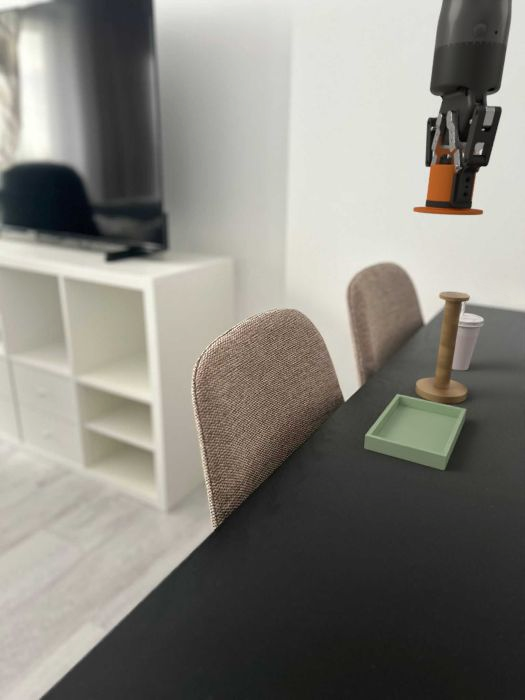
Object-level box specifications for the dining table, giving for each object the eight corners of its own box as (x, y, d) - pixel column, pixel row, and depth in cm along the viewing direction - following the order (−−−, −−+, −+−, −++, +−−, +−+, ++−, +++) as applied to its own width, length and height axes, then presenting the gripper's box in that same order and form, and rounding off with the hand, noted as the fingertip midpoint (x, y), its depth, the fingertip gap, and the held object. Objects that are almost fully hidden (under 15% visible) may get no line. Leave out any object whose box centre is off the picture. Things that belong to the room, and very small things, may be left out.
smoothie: (443, 358, 100) (454, 288, 95) (478, 365, 97) (490, 292, 92) (436, 368, 95) (446, 294, 90) (472, 375, 92) (485, 299, 87)
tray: (395, 405, 80) (397, 393, 79) (464, 421, 75) (466, 408, 74) (363, 448, 67) (365, 435, 66) (444, 470, 62) (446, 456, 62)
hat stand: (452, 383, 88) (467, 288, 83) (475, 403, 81) (492, 300, 75) (408, 384, 88) (419, 289, 82) (426, 404, 80) (440, 301, 75)
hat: (463, 210, 66) (470, 166, 65) (495, 215, 59) (504, 165, 57) (403, 209, 66) (408, 164, 64) (428, 214, 58) (434, 163, 56)
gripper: (541, 31, 50) (510, 210, 56) (471, 60, 63) (452, 202, 69) (468, 27, 49) (443, 209, 55) (413, 58, 63) (398, 201, 68)
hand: (448, 205), depth 62 cm, fingers closed on hat, 5 cm apart
